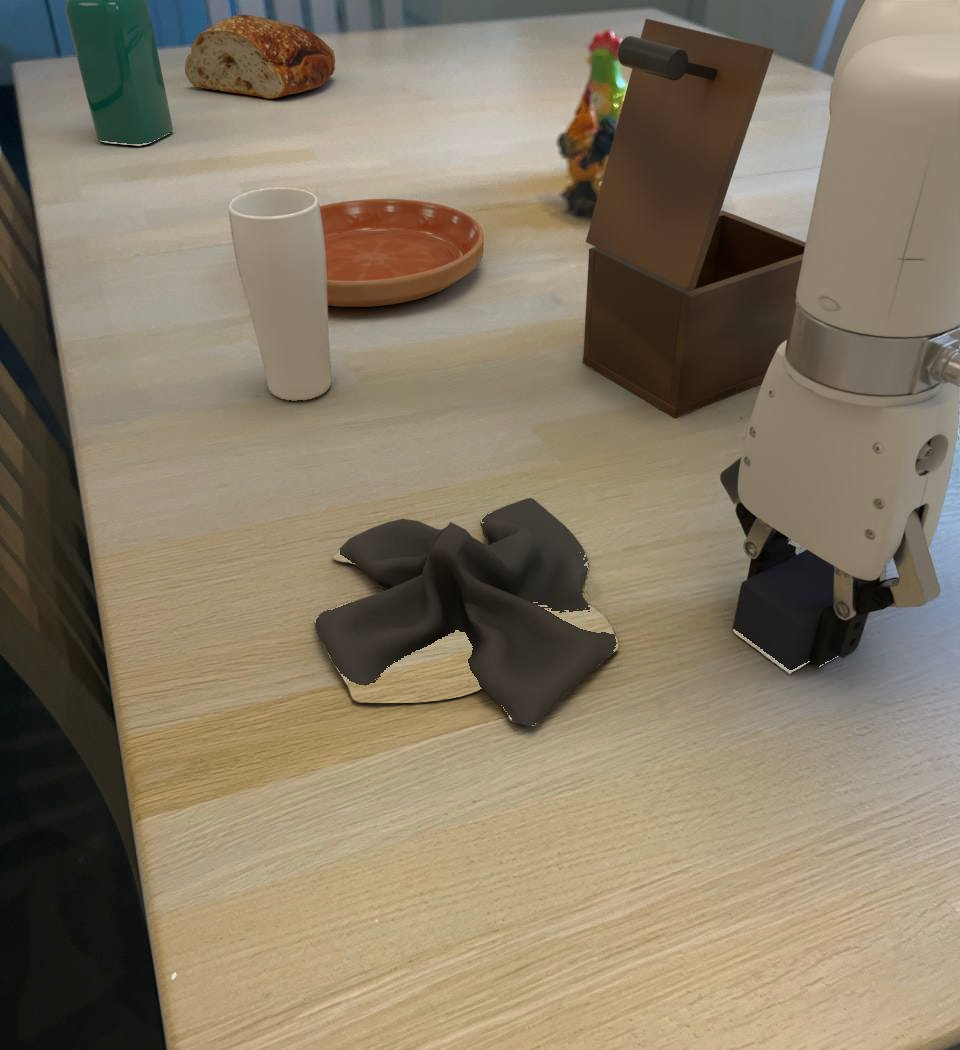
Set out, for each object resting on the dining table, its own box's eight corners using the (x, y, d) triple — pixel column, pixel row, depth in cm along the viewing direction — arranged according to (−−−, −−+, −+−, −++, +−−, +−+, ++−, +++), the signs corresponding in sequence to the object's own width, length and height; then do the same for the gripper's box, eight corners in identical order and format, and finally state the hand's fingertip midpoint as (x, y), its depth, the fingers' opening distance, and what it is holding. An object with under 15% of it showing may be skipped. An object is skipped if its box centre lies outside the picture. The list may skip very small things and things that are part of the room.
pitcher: (145, 149, 135) (102, -49, 120) (92, 144, 137) (42, -51, 122) (184, 128, 142) (147, -61, 127) (132, 124, 144) (90, -63, 129)
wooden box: (707, 319, 93) (722, 209, 86) (803, 367, 85) (828, 250, 79) (582, 363, 87) (588, 248, 80) (674, 418, 79) (690, 296, 73)
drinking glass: (298, 362, 87) (272, 180, 78) (358, 382, 84) (338, 196, 75) (242, 393, 83) (206, 206, 73) (302, 416, 80) (274, 224, 70)
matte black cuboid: (801, 595, 63) (813, 545, 60) (860, 635, 60) (875, 584, 57) (731, 632, 60) (741, 582, 58) (789, 675, 57) (802, 625, 55)
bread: (184, 89, 158) (170, 15, 152) (265, 65, 169) (256, -5, 163) (280, 107, 149) (270, 30, 143) (359, 80, 160) (353, 7, 154)
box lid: (653, 20, 72) (596, 3, 69) (774, 49, 65) (717, 31, 62) (592, 242, 80) (538, 237, 77) (694, 290, 73) (639, 286, 69)
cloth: (620, 738, 54) (630, 653, 50) (280, 720, 55) (262, 636, 51) (616, 503, 71) (622, 425, 66) (353, 494, 72) (344, 416, 68)
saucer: (212, 300, 98) (204, 262, 95) (324, 221, 113) (320, 186, 111) (429, 335, 91) (426, 296, 89) (516, 246, 107) (516, 210, 104)
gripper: (1083, 387, 44) (958, 687, 56) (790, 266, 55) (738, 540, 67) (975, 440, 41) (868, 745, 53) (687, 301, 52) (652, 582, 64)
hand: (796, 628), depth 60 cm, fingers closed on matte black cuboid, 4 cm apart
